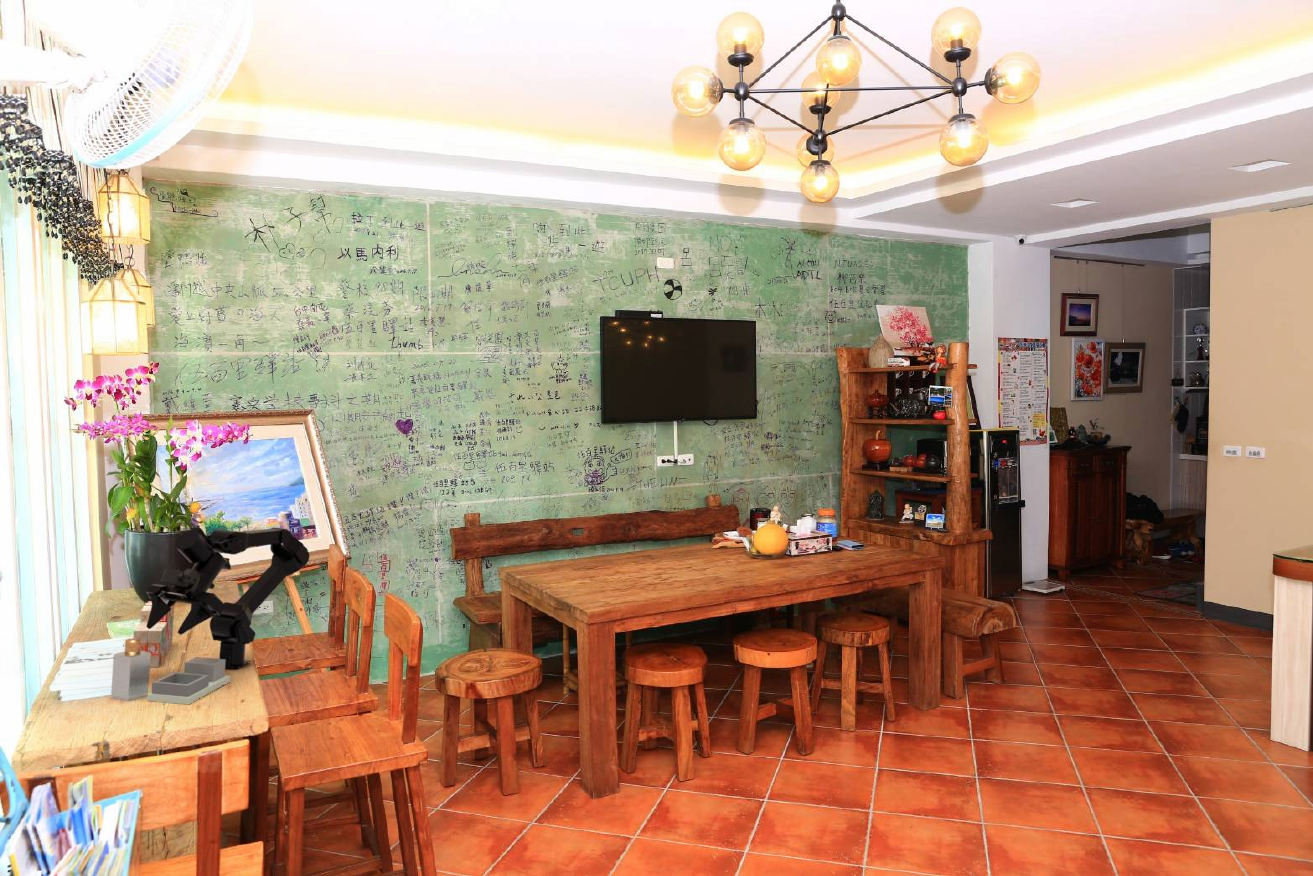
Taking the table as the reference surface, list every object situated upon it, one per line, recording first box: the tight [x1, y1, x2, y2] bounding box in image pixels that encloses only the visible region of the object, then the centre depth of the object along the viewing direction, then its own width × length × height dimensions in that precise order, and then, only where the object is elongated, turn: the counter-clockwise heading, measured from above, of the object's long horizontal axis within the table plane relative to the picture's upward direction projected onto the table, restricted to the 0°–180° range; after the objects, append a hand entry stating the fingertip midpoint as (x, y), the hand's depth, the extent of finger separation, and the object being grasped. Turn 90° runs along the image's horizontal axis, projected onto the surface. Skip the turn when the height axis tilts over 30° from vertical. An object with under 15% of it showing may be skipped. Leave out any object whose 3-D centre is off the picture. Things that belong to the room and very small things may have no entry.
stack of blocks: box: [132, 600, 175, 668], centre depth 227 cm, size 21×6×12 cm, turn 21°
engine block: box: [110, 637, 151, 702], centre depth 197 cm, size 5×5×12 cm
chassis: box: [146, 656, 231, 705], centre depth 203 cm, size 17×9×6 cm, turn 177°
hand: (163, 630), depth 203 cm, fingers open, 9 cm apart
